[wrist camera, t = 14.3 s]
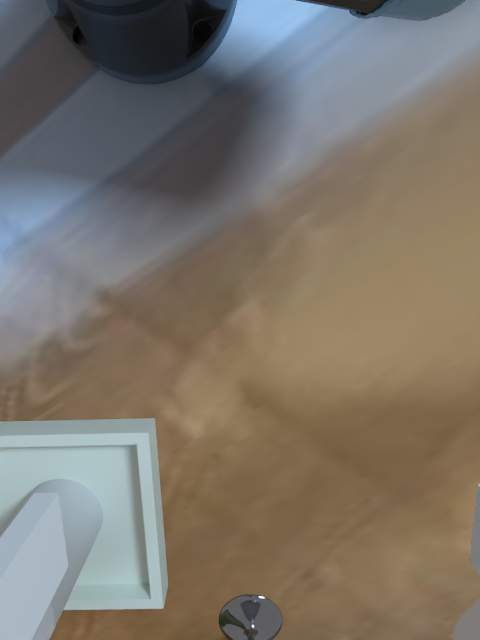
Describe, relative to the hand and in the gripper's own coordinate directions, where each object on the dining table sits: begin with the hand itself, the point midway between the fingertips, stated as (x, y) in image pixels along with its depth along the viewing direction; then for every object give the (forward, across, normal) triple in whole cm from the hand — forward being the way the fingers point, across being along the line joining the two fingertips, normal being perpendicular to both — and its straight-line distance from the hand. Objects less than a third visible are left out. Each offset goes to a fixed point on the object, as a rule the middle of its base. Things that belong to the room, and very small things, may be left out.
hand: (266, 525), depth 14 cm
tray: (+29, -20, -20) cm, 40 cm away
